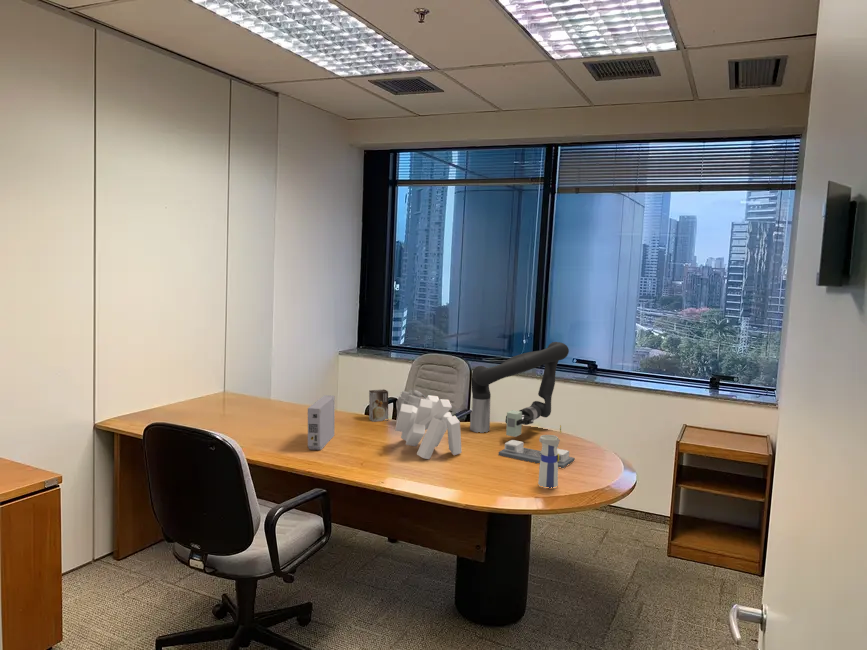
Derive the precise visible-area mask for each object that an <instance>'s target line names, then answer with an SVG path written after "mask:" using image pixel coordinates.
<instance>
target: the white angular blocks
mask: <svg viewBox="0 0 867 650" xmlns="http://www.w3.org/2000/svg"><path fill="white" fill-rule="evenodd" d="M420 399H421V400H420V403H419V407H418V408H416V407H415V406H413V405H407V404H401V408H400V412H399V415H398V419H397V418H396V420H397V421H396V424H395V429H394V430H395V432H401V435H400V436H401V437H400V439H402V440H403V441H405V446H411V447H412V446H413V447H418V445H419V443H420V442H421V443H420V445H419V448H418V450H417V452H416V455H417V456H418V457H421V458H422V459H426V460H431V458H432V455H433V453H434V450H435V448H438V446H439V444H440V442H441V440H442V439H443V437H444V435H445V433H446V432H447V441H448V442H447V445H448V450H449V451H450V453H451V455H454V456H456V455H459V454H460V455H461V454H462V451H463V450H462V437H461V436H462V434H461V422H460V420H459V419H458V417H457V416H456V415H452V413H451V412H450V410H452V408H453V406H452V404H451V401H450V399H446V398H442V399H441V398H440V399H439V396H437V395H431V394H430V395H427V396H426V399H425V398H420Z"/></svg>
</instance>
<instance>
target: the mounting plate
mask: <svg viewBox="0 0 867 650" xmlns="http://www.w3.org/2000/svg"><path fill="white" fill-rule="evenodd" d="M524 448H525V447H523V449H521V450H520V451H518V452H513V451H508V450H505V448H503V449H504V451H507V452H512V453H516V454H521V455H526V456H531V457H536V458H541V453H540V452H539V451H540V450H538V451H534V450H535V449H533V450H529V449H530V448H528V449H524ZM569 459H570V458H568V459H566V460H565V461H563V462H562V461H558V462H560V463H565V462H567V461H568V460H569Z"/></svg>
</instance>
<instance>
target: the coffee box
mask: <svg viewBox="0 0 867 650" xmlns="http://www.w3.org/2000/svg"><path fill="white" fill-rule="evenodd" d="M368 394H369V395H368V397H369V406H368V407H369V409H368V411H369V412H368V414H369V417H368V418H369V421H371V422H373V423H374V422H383V420H384V421H385V419H388V420H389V391H388V390H386V389H384V388H383V389H373V390H369V392H368Z"/></svg>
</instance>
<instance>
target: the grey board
mask: <svg viewBox="0 0 867 650" xmlns="http://www.w3.org/2000/svg"><path fill="white" fill-rule="evenodd" d="M523 448H524V449H529V450H534V451H539V452H540V451H541V450H537V449H532V448H526V447H523ZM504 449H505V448H503V449H502V450H499V451H498V454H497V455H498V456H501V457H505V458H509V459H514V460H518V459H519V460H518V461H523V460H524V462H528V461H529V463H532V462H535V463H534V464H537V463H540V461H541V458H536V457H531V456H526V455H521V454H516V453H512V452H507V451H504ZM569 458H570V459H569V460H568V461H567V462H565V463H560V462H558V467H561V468H564V467H565V466H567V465H568V464H570V463H571V462H573V461H574V460H576V459H575V457H572V456H569ZM574 462H575V461H574ZM574 462H573V463H574ZM571 464H572V463H571ZM571 464H570V465H571ZM568 466H569V465H568ZM568 466H567V467H568ZM565 468H566V467H565ZM565 468H564V469H565Z"/></svg>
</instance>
